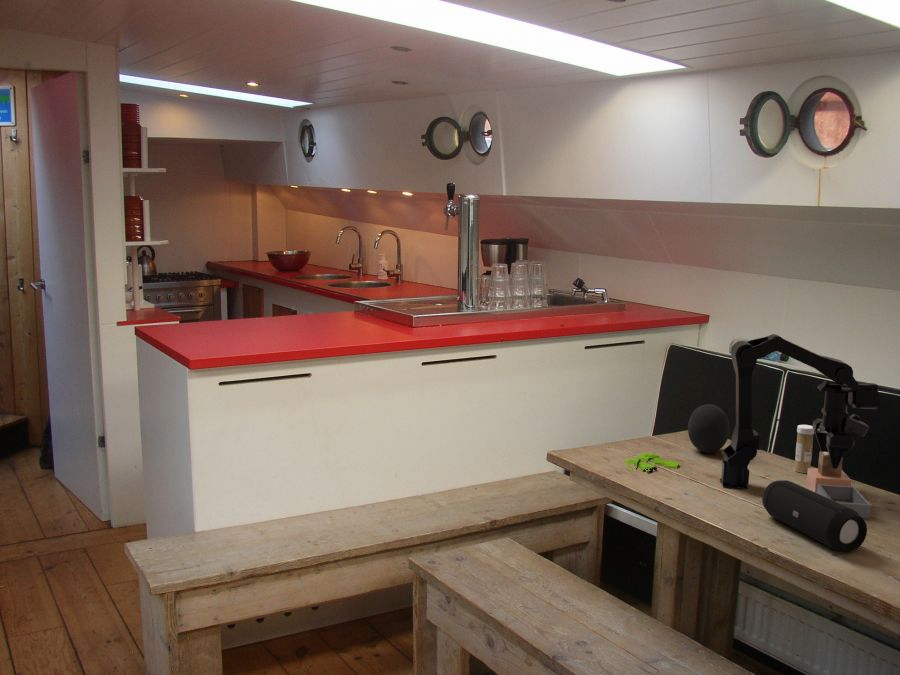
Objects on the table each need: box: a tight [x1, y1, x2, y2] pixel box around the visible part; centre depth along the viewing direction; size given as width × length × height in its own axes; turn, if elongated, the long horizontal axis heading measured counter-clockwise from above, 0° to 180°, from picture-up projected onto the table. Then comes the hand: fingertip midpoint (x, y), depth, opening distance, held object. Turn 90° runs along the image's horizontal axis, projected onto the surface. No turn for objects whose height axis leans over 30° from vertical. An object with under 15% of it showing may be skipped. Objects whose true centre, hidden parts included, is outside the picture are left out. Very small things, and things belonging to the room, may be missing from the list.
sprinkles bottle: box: [794, 424, 815, 474], centre depth 258 cm, size 5×5×14 cm
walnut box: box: [817, 451, 844, 477], centre depth 242 cm, size 5×4×6 cm
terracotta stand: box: [805, 467, 853, 493], centre depth 243 cm, size 9×9×4 cm
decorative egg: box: [687, 404, 730, 454], centre depth 275 cm, size 12×12×15 cm
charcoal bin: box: [817, 485, 872, 520], centre depth 229 cm, size 9×14×4 cm, turn 172°
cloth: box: [625, 452, 680, 475], centre depth 261 cm, size 20×22×2 cm
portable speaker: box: [761, 479, 868, 552], centre depth 210 cm, size 26×10×10 cm, turn 20°
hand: (830, 463), depth 242 cm, fingers open, 9 cm apart
